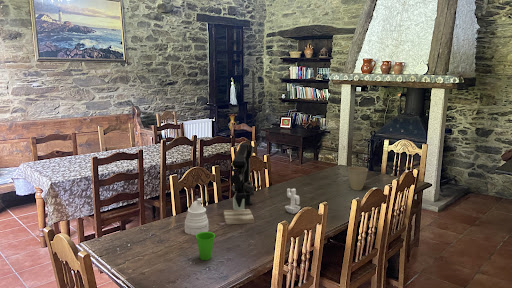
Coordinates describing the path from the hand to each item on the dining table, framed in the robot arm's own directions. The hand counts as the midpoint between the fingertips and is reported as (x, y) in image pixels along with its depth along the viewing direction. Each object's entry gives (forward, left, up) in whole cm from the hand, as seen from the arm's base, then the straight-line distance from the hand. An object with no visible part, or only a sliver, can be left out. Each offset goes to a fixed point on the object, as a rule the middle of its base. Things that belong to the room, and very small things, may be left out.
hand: (238, 205), depth 229 cm
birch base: (0, 0, -8) cm, 8 cm away
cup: (+47, -22, -8) cm, 53 cm away
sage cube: (0, 0, -2) cm, 2 cm away
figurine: (-6, +35, -8) cm, 36 cm away
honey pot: (+14, -25, -9) cm, 30 cm away
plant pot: (-48, +97, -8) cm, 108 cm away
